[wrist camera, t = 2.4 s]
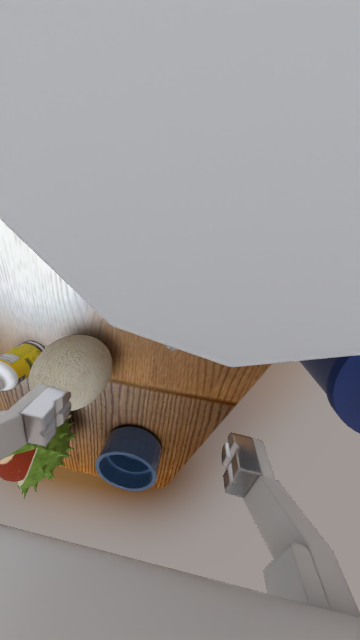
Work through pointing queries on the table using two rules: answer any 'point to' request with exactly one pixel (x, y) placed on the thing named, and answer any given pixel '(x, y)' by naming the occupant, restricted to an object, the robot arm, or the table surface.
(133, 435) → the bowl
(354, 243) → the water bottle
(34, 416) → the robot arm
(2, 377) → the supplement bottle
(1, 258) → the table surface
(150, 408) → the table surface
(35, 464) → the chestnut
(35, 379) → the fruit
